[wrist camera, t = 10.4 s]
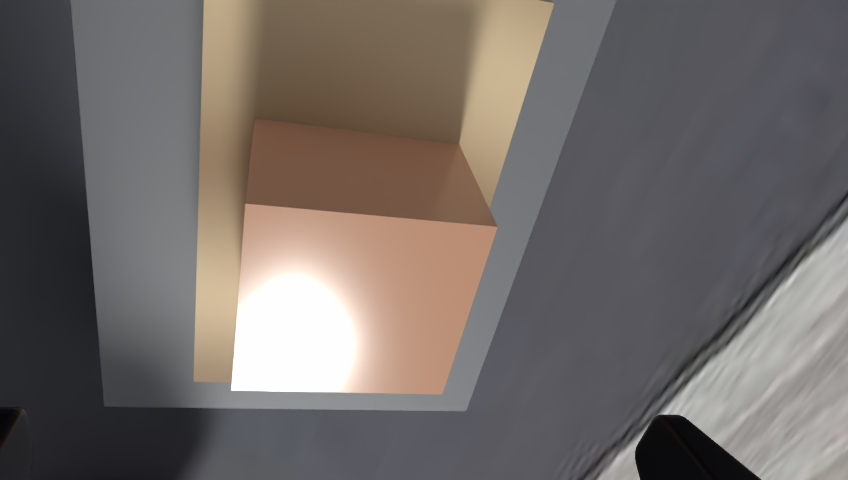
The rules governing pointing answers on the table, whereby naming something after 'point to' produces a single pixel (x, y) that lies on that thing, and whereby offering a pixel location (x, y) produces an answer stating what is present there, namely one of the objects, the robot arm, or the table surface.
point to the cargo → (355, 261)
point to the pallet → (345, 104)
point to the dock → (179, 191)
